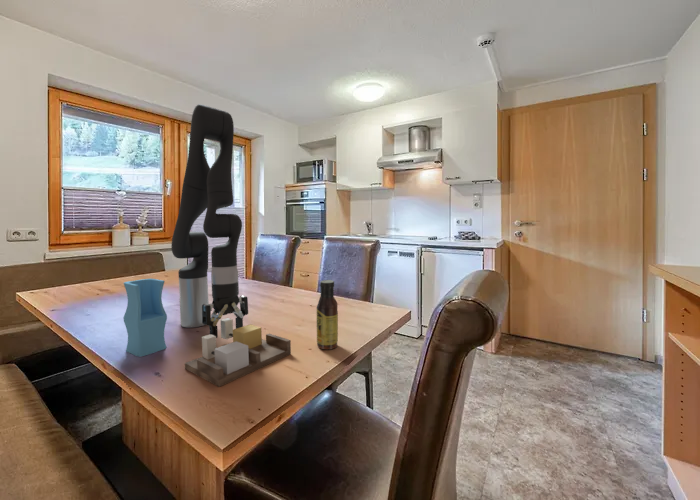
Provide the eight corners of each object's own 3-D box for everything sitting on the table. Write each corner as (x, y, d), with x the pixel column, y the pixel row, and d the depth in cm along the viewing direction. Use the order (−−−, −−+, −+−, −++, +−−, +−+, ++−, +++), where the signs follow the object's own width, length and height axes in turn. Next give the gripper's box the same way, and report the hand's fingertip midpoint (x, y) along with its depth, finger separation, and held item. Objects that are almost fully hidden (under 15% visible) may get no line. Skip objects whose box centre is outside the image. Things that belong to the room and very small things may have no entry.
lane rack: (185, 368, 81) (184, 353, 81) (256, 342, 99) (256, 329, 99) (218, 386, 72) (218, 369, 72) (290, 353, 90) (290, 340, 90)
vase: (139, 357, 88) (135, 285, 86) (125, 351, 92) (121, 282, 90) (168, 347, 94) (164, 280, 93) (154, 342, 99) (150, 278, 97)
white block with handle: (196, 359, 83) (195, 338, 83) (217, 351, 88) (216, 332, 87) (227, 374, 75) (226, 351, 75) (248, 365, 80) (248, 343, 79)
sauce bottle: (316, 342, 98) (316, 278, 96) (337, 342, 99) (337, 278, 97) (316, 351, 92) (315, 283, 90) (338, 350, 92) (338, 282, 90)
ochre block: (215, 340, 96) (215, 321, 96) (233, 334, 101) (232, 316, 100) (244, 351, 88) (243, 330, 88) (261, 344, 93) (261, 325, 92)
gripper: (238, 276, 104) (239, 325, 106) (195, 283, 93) (197, 337, 94) (252, 278, 100) (254, 329, 101) (209, 286, 88) (212, 343, 90)
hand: (227, 333), depth 98 cm, fingers open, 8 cm apart
